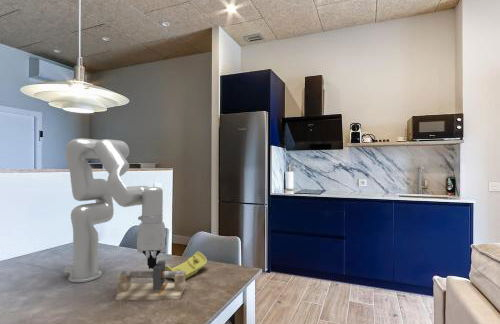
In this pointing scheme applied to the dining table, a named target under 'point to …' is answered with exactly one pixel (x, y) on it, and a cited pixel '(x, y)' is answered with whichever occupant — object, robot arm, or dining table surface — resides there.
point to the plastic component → (190, 265)
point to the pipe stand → (150, 286)
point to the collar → (158, 275)
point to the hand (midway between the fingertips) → (151, 267)
